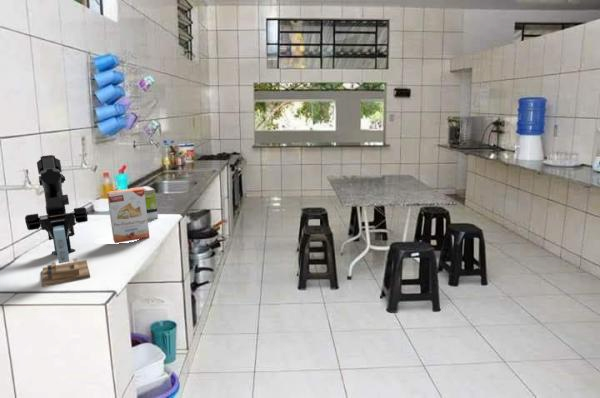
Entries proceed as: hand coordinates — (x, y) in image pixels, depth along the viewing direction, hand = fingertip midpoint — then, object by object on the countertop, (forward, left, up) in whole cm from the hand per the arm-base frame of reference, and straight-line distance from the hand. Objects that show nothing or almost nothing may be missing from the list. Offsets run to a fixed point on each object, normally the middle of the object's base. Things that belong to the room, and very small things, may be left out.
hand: (60, 239), depth 160 cm
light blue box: (0, 0, -7) cm, 7 cm away
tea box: (-45, +65, -12) cm, 80 cm away
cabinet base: (0, 0, -12) cm, 12 cm away
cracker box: (-16, +37, -12) cm, 42 cm away
